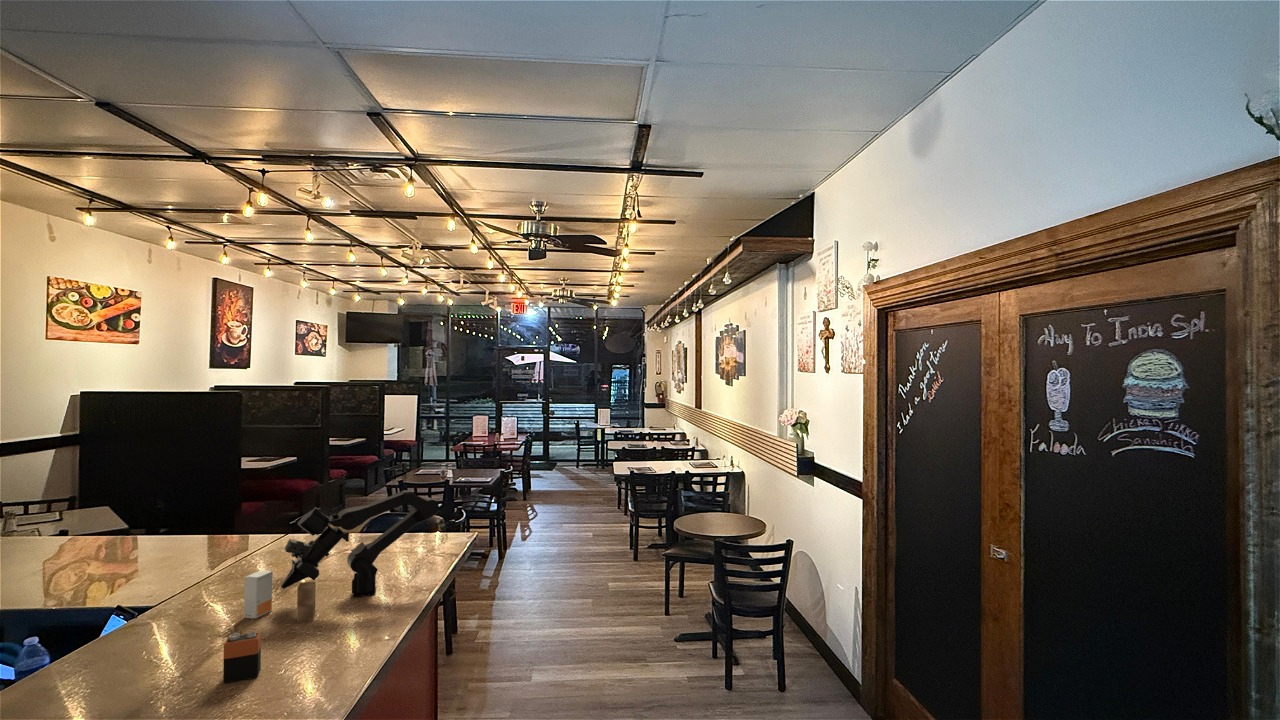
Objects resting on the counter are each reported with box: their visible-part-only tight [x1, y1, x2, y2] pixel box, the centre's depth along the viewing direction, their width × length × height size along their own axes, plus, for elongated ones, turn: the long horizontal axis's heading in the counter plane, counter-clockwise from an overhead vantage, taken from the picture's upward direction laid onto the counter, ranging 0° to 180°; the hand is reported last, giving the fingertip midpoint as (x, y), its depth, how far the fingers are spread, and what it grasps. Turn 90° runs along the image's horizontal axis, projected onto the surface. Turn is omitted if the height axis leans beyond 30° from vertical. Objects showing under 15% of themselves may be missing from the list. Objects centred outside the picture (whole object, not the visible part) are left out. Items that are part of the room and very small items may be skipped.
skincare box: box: [243, 570, 274, 620], centre depth 176 cm, size 6×4×12 cm
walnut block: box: [296, 581, 317, 624], centre depth 172 cm, size 4×4×10 cm
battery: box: [222, 631, 262, 684], centre depth 140 cm, size 4×7×10 cm, turn 114°
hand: (282, 587), depth 180 cm, fingers closed
